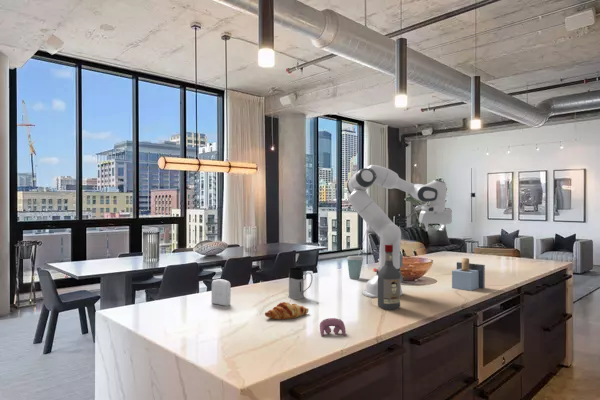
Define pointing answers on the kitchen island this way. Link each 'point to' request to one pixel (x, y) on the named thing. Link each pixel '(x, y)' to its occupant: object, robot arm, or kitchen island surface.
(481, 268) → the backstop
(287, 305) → the croissant
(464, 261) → the dowel
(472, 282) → the socket block
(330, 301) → the kitchen island surface
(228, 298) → the gravestone
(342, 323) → the video game controller
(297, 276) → the grey mug
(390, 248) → the liquor
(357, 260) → the disposable coffee cup
